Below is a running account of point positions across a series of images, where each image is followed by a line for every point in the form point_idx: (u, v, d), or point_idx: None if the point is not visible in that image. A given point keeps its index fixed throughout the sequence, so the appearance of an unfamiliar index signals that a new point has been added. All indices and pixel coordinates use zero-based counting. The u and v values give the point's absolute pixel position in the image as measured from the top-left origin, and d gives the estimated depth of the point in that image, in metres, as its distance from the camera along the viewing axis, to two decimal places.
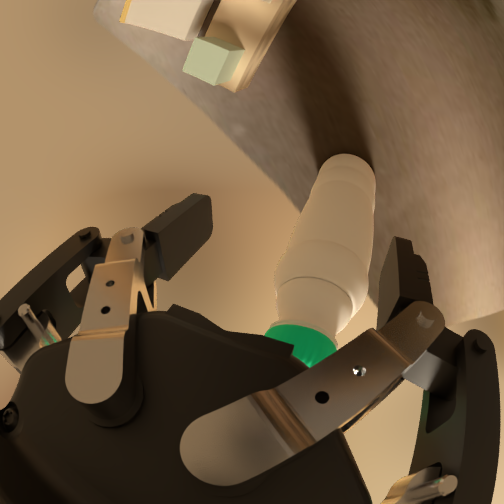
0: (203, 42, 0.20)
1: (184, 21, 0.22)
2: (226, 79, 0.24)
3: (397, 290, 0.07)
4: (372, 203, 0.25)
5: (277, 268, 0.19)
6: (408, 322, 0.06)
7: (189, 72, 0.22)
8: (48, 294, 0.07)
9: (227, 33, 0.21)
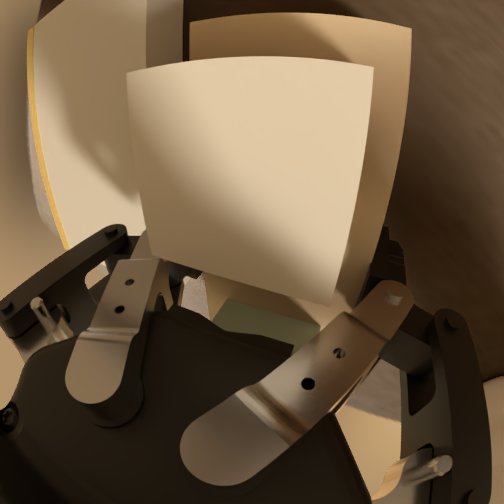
0: None
1: None
2: None
3: (368, 271, 0.08)
4: None
5: None
6: (375, 298, 0.07)
7: None
8: (64, 289, 0.07)
9: (258, 303, 0.11)
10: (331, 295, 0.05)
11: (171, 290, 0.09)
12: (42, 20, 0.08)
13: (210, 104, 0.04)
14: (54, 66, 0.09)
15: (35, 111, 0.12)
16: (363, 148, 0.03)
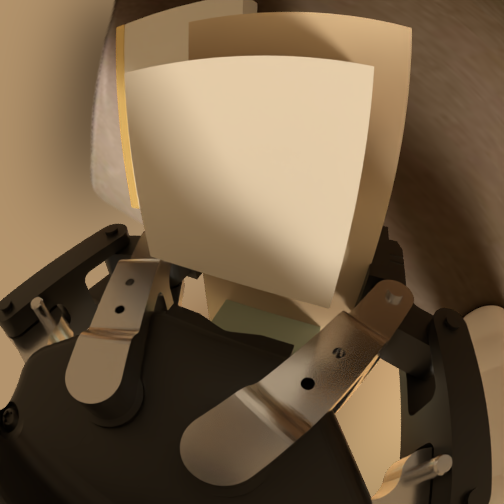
0: None
1: None
2: None
3: (368, 270, 0.08)
4: None
5: None
6: (374, 298, 0.07)
7: None
8: (65, 289, 0.07)
9: (258, 304, 0.11)
10: (331, 297, 0.05)
11: (171, 290, 0.09)
12: (135, 22, 0.14)
13: (208, 104, 0.04)
14: (151, 60, 0.16)
15: (124, 92, 0.19)
16: (363, 148, 0.03)
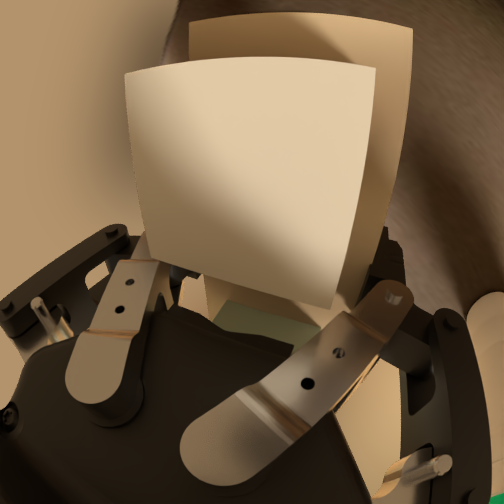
0: None
1: None
2: None
3: (368, 270, 0.08)
4: None
5: None
6: (374, 298, 0.07)
7: None
8: (65, 289, 0.07)
9: (258, 305, 0.11)
10: (331, 298, 0.05)
11: (171, 290, 0.09)
12: None
13: (209, 106, 0.04)
14: None
15: None
16: (365, 150, 0.03)
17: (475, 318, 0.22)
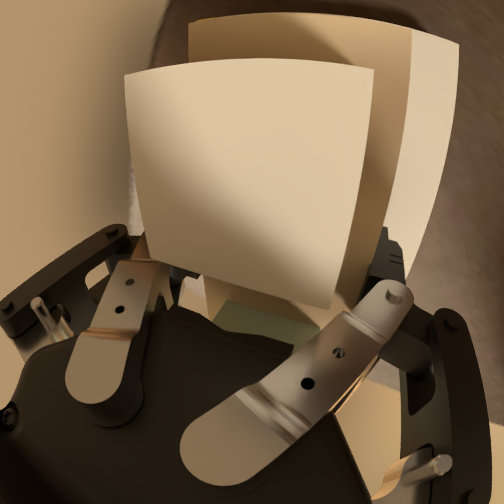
0: None
1: None
2: None
3: (368, 270, 0.08)
4: None
5: None
6: (374, 298, 0.07)
7: None
8: (64, 289, 0.07)
9: (257, 305, 0.11)
10: (330, 299, 0.05)
11: (171, 290, 0.09)
12: None
13: (208, 107, 0.04)
14: None
15: None
16: (363, 152, 0.03)
17: None
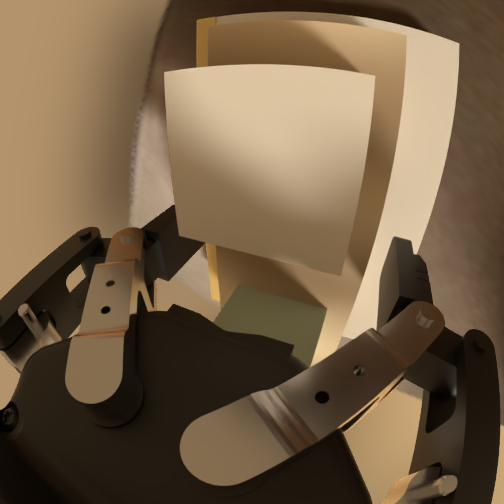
0: None
1: (370, 316, 0.15)
2: None
3: (397, 290, 0.07)
4: None
5: None
6: (408, 322, 0.06)
7: None
8: (48, 294, 0.07)
9: (268, 287, 0.12)
10: (342, 265, 0.05)
11: None
12: (242, 16, 0.09)
13: (242, 102, 0.04)
14: None
15: None
16: (367, 139, 0.04)
17: None
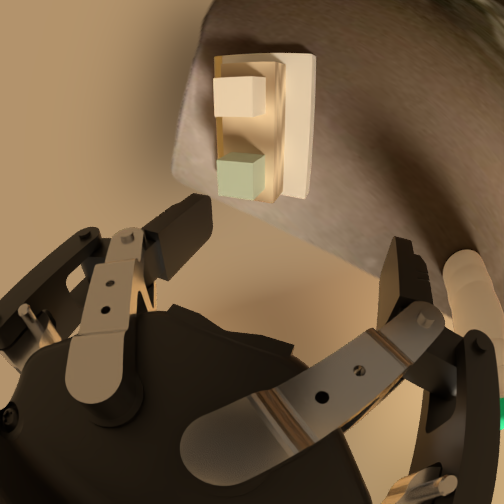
0: (226, 162, 0.27)
1: (297, 179, 0.33)
2: (261, 189, 0.30)
3: (397, 290, 0.07)
4: (492, 286, 0.24)
5: None
6: (408, 322, 0.06)
7: (225, 194, 0.29)
8: (48, 294, 0.07)
9: (242, 150, 0.29)
10: (252, 114, 0.23)
11: None
12: (232, 56, 0.26)
13: (229, 84, 0.22)
14: None
15: None
16: (252, 87, 0.21)
17: (448, 271, 0.30)
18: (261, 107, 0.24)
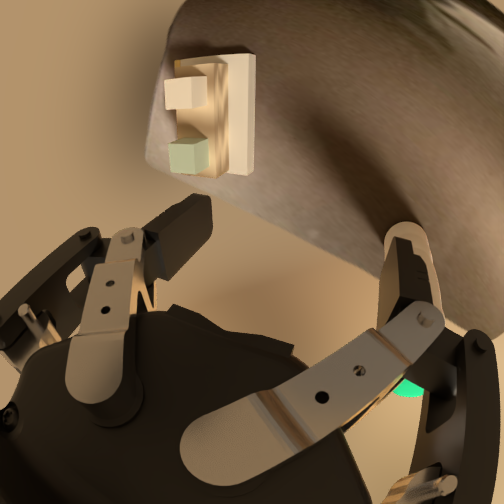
0: (174, 145, 0.32)
1: (240, 159, 0.38)
2: (204, 166, 0.35)
3: (397, 290, 0.07)
4: (429, 254, 0.30)
5: None
6: (408, 322, 0.06)
7: (175, 171, 0.34)
8: (48, 294, 0.07)
9: (191, 135, 0.34)
10: (191, 106, 0.28)
11: None
12: (187, 59, 0.32)
13: (175, 84, 0.27)
14: None
15: None
16: (191, 85, 0.27)
17: (386, 241, 0.36)
18: (202, 100, 0.30)
